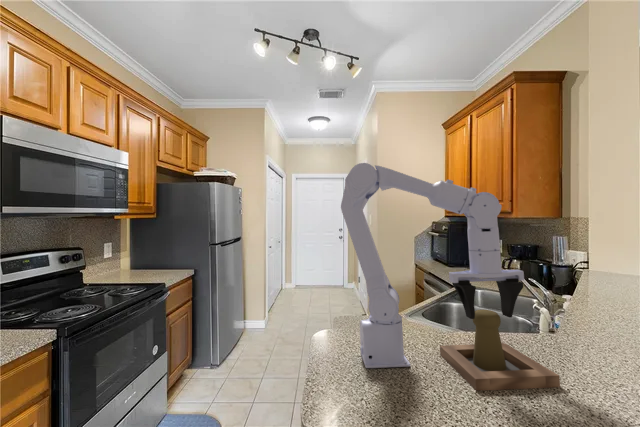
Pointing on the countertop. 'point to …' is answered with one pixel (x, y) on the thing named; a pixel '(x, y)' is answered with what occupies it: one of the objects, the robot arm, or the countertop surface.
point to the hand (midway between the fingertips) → (488, 316)
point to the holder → (516, 375)
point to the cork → (488, 341)
